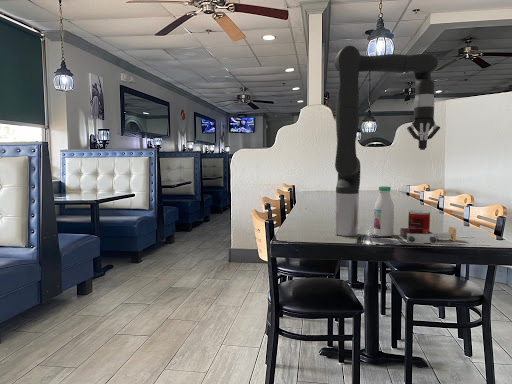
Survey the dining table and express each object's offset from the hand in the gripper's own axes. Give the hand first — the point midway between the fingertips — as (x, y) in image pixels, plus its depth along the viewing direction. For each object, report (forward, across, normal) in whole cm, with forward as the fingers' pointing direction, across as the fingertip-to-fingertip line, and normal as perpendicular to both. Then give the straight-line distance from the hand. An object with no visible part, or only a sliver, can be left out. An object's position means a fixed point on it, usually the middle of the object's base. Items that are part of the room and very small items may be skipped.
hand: (422, 149), depth 159 cm
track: (+35, +5, -10) cm, 37 cm away
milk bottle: (+35, -15, -3) cm, 38 cm away
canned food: (+35, -3, -10) cm, 37 cm away
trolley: (+35, 0, -10) cm, 37 cm away
